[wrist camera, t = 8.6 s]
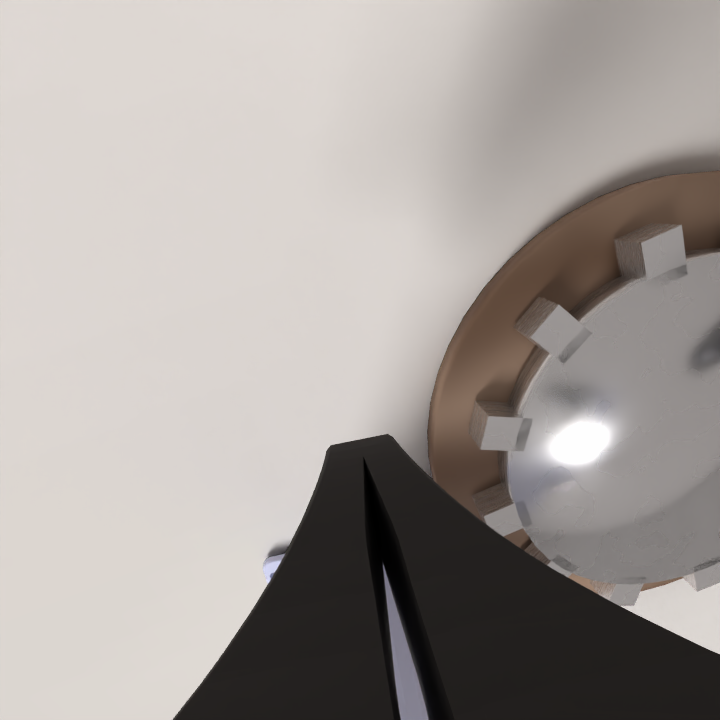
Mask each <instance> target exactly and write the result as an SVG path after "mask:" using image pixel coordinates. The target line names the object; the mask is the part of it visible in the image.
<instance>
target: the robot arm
mask: <svg viewBox="0 0 720 720" xmlns="http://www.w3.org/2000/svg"><path fill="white" fill-rule="evenodd" d="M263 571H264V574H265V577H266V580H267V583H268V585H267V587H266V588H265V590H264V592H263V593H262V595H261V597H260V598H259V600H258V602H257V603H256V605H255V606H254V608H253V610H252V611H251V613H250V614H249V616H248V617H247V619H246V620H245V622H244V623H243V625H242V626H241V628H240V629H239V630H238V632H237V633H236V635H235V636H234V638H233V639H232V641H231V642H230V644H229V645H228V647H227V648H226V650H225V651H224V653H223V654H222V655H221V657H220V658H219V660H218V661H217V662H216V664H215V665H214V667H213V668H212V669H211V671H210V672H209V673H208V675H207V676H206V678H205V679H204V680H203V682H202V683H201V684H200V686H199V687H198V688H197V689H196V691H195V692H194V693H193V694H192V696H191V697H190V698H189V700H188V701H187V702H186V703H185V705H184V706H183V707H182V708H181V710H180V711H179V712H178V714H177V715H176V716H175V717H174V719H173V720H720V654H717V653H715V652H713V651H710V650H708V649H706V648H704V647H702V646H700V645H698V644H695V643H693V642H691V641H689V640H687V639H685V638H683V637H681V636H679V635H677V634H675V633H673V632H671V631H669V630H667V629H665V628H663V627H660V626H658V625H656V624H654V623H652V622H650V621H648V620H646V619H644V618H642V617H640V616H638V615H636V614H634V613H632V612H630V611H628V610H626V609H624V608H622V607H620V606H619V605H617V604H615V603H613V602H611V601H609V600H608V599H606V598H604V597H602V596H600V595H599V594H597V593H595V592H593V591H591V590H590V589H588V588H586V587H584V586H582V585H581V584H579V583H577V582H575V581H574V580H572V579H570V578H568V577H566V576H565V575H563V574H561V573H559V572H557V571H556V570H554V569H552V568H551V567H549V566H548V565H546V564H544V563H543V562H541V561H540V560H538V559H536V558H535V557H533V556H532V555H530V554H528V553H527V552H525V551H524V550H522V549H521V548H520V547H518V546H517V545H515V544H514V543H512V542H511V541H509V540H508V539H506V538H505V537H503V536H502V535H500V534H499V533H498V532H496V531H495V530H494V529H492V528H491V527H489V526H488V525H487V524H485V523H484V522H483V521H481V520H480V519H479V518H477V517H476V516H475V515H474V514H472V513H471V512H470V511H469V510H467V509H466V508H465V507H464V506H462V505H461V504H460V503H459V502H458V501H456V500H455V499H454V498H453V497H452V496H451V495H449V494H448V493H447V492H446V491H445V490H444V489H443V488H441V487H440V486H439V485H438V484H437V483H436V482H435V481H434V480H433V479H432V478H431V477H429V476H428V475H427V474H426V473H425V472H424V471H423V470H422V469H421V468H420V467H419V466H418V465H417V464H416V463H415V462H414V461H413V460H412V459H411V458H410V457H409V455H408V454H407V453H406V452H405V451H404V450H403V449H402V448H401V447H400V445H399V444H398V443H397V442H396V440H395V439H394V438H393V437H392V436H390V435H389V434H385V435H380V436H375V437H370V438H365V439H360V440H355V441H350V442H345V443H340V444H335V445H331V446H330V447H329V448H328V450H327V451H326V456H325V460H324V464H323V467H322V470H321V473H320V476H319V479H318V482H317V485H316V487H315V490H314V492H313V495H312V497H311V500H310V502H309V504H308V507H307V509H306V512H305V514H304V516H303V518H302V521H301V523H300V525H299V527H298V529H297V531H296V533H295V535H294V537H293V539H292V541H291V543H290V545H289V547H288V549H287V551H286V553H285V554H282V555H277V556H272V557H269V558H267V559H266V560H265V561H264V565H263ZM273 572H275V573H274V574H273Z"/></svg>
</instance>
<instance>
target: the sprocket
mask: <svg viewBox="0 0 720 720" xmlns="http://www.w3.org/2000/svg"><path fill="white" fill-rule="evenodd" d="M614 244H615V249H616V254H617V260H618V265H619V271H620V276H618V277H616V278H614V279H612V280H611V281H609V282H608V283H606V284H605V285H603V286H602V287H600V288H599V289H597V290H596V291H594V292H593V293H591V294H590V295H588V296H587V297H586V298H585V299H584V300H582V301H581V302H580V303H579V304H578V305H576V306H575V307H574V308H573V309H572V310H570V311H569V312H567V311H566V310H565V309H564V308H562V307H561V306H560V305H559V304H556V303H554V302H551V301H549V300H546V299H544V298H541V297H538V298H537V299H536V301H535V302H534V303H533V304H532V305H531V307H530V308H529V309H528V310H527V311H526V312H525V314H524V315H523V316H522V317H521V318H520V320H519V321H518V322H517V323H516V324H515V325H514V328H515V329H516V330H517V331H519V332H520V333H521V334H522V335H524V336H525V337H526V338H527V339H529V340H530V341H531V342H532V343H534V344H535V345H536V346H537V348H536V350H535V351H534V352H533V354H532V355H531V357H530V358H529V360H528V362H527V363H526V365H525V367H524V368H523V370H522V371H521V373H520V375H519V377H518V379H517V381H516V383H515V386H514V388H513V390H512V392H511V394H510V396H509V399H508V402H491V401H475V404H474V408H473V412H472V417H471V421H470V425H469V430H468V433H469V434H470V435H471V437H472V438H473V440H474V441H475V443H476V444H477V445H478V447H479V448H480V450H498V468H499V478H500V482H501V483H500V484H497V485H495V486H493V487H490V488H488V489H486V490H483V491H481V492H479V493H476V494H474V495H472V497H473V500H474V502H475V505H476V507H477V510H478V512H479V515H480V517H481V519H482V521H483V522H484V523H485V524H487V525H488V526H489V527H491V528H492V529H494V530H495V531H496V532H498V533H499V534H500V535H502V536H506V535H508V534H510V533H513V532H515V531H517V530H520V529H522V528H523V529H524V530H525V532H526V533H527V535H528V536H529V538H530V539H531V540H532V543H531V544H530V545H529V546H528V547H527V548H526V549H525V550H524V551H525V552H527V553H528V554H530V555H532V556H533V557H535V558H536V559H538V560H540V561H541V562H543V563H544V564H546V565H548V566H549V567H551V568H552V569H554V570H556V571H557V572H559V573H561V574H563V575H565V576H566V577H569V576H570V575H571V574H572V573H573V574H575V575H577V576H581V577H584V578H587V579H590V584H591V585H592V586H593V588H594V589H595V590H596V592H597V593H598V594H599V595H600V596H602V597H604V598H606V599H608V600H609V601H611V602H613V603H615V604H617V605H619V606H631V605H634V604H635V602H636V600H637V597H638V595H639V593H640V591H641V589H642V586H643V584H645V583H654V582H660V581H666V580H671V579H674V578H678V577H683V578H684V579H685V580H686V581H687V582H688V583H689V584H690V585H691V586H692V587H693V588H694V589H695V590H696V591H697V592H698V591H700V590H702V589H705V588H707V587H710V586H712V585H715V584H717V583H720V248H708V249H698V250H688V251H685V247H684V239H683V231H682V225H674V224H654V223H651V224H648V225H646V226H644V227H642V228H639V229H637V230H635V231H633V232H630V233H628V234H626V235H624V236H621V237H619V238H617V239H615V240H614Z"/></svg>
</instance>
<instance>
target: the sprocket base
mask: <svg viewBox="0 0 720 720" xmlns="http://www.w3.org/2000/svg"><path fill="white" fill-rule="evenodd" d="M651 223H654V224H674V225H682V231H683V239H684V247H685V251H688V250H698V249H708V248H720V171H711V172H699V173H689V174H679V175H669V176H662V177H658V178H654V179H650V180H646V181H642V182H638V183H634V184H631V185H628V186H625V187H623V188H620V189H618V190H615V191H613V192H610V193H608V194H605V195H603V196H600V197H598V198H596V199H594V200H592V201H590V202H588V203H587V204H585V205H583V206H581V207H579V208H577V209H576V210H574V211H572V212H570V213H568V214H566V215H565V216H563V217H562V218H561V219H559V220H558V221H556V222H555V223H553V224H552V225H551V226H549V227H548V228H546V229H545V230H544V231H542V232H541V233H539V234H538V235H537V236H535V237H534V238H533V239H532V240H531V241H530V242H528V243H527V244H526V245H525V246H524V247H523V248H522V249H521V250H520V251H518V252H517V253H516V254H515V255H514V256H513V257H512V258H511V259H510V260H508V261H507V263H506V264H505V265H504V266H503V267H502V268H501V269H500V271H499V272H498V273H497V274H496V275H495V276H494V277H493V278H492V280H491V281H490V282H489V283H488V284H487V285H486V286H485V287H484V289H483V290H482V292H481V293H480V294H479V296H478V297H477V299H476V300H475V302H474V303H473V304H472V306H471V307H470V309H469V310H468V312H467V313H466V315H465V316H464V318H463V320H462V321H461V323H460V325H459V327H458V329H457V331H456V333H455V334H454V336H453V338H452V340H451V342H450V344H449V346H448V348H447V351H446V353H445V356H444V359H443V361H442V364H441V366H440V369H439V372H438V374H437V378H436V382H435V386H434V390H433V394H432V398H431V402H430V410H429V420H428V430H427V434H428V457H429V462H430V467H431V472H432V477H433V480H434V481H435V482H436V483H437V484H438V485H439V486H440V487H441V488H443V489H444V490H445V491H446V492H447V493H448V494H449V495H451V496H452V497H453V498H454V499H455V500H456V501H458V502H459V503H460V504H461V505H462V506H464V507H465V508H466V509H467V510H469V511H470V512H471V513H472V514H474V515H475V516H476V517H477V518H479V519H480V520H481V521H482V519H481V517H480V515H479V512H478V510H477V507H476V505H475V502H474V500H473V497H472V495H474V494H476V493H479V492H481V491H483V490H486V489H488V488H490V487H493V486H495V485H497V484H500V483H501V482H500V478H499V468H498V450H480V448H479V447H478V445H477V444H476V443H475V441H474V440H473V438H472V437H471V435H470V434H469V433H468V430H469V425H470V421H471V417H472V412H473V408H474V404H475V401H491V402H508V399H509V396H510V394H511V392H512V390H513V388H514V386H515V383H516V381H517V379H518V377H519V375H520V373H521V371H522V370H523V368H524V367H525V365H526V363H527V362H528V360H529V358H530V357H531V355H532V354H533V352H534V351H535V350H536V348H537V346H536V345H535V344H534V343H532V342H531V341H530V340H529V339H527V338H526V337H525V336H524V335H522V334H521V333H520V332H519V331H517V330H516V329H515V328H514V325H515V324H516V323H517V322H518V321H519V320H520V318H521V317H522V316H523V315H524V314H525V312H526V311H527V310H528V309H529V308H530V307H531V305H532V304H533V303H534V302H535V301H536V299H537V298H538V297H541V298H544V299H546V300H549V301H551V302H554V303H556V304H559V305H560V306H561V307H562V308H564V309H565V310H566V311H567V312H569V311H570V310H572V309H573V308H574V307H575V306H576V305H578V304H579V303H580V302H581V301H582V300H584V299H585V298H586V297H587V296H588V295H590V294H591V293H593V292H594V291H596V290H597V289H599V288H600V287H602V286H603V285H605V284H606V283H608V282H609V281H611V280H612V279H614V278H616V277H618V276H620V271H619V265H618V260H617V254H616V249H615V244H614V240H615V239H617V238H619V237H621V236H624V235H626V234H628V233H630V232H633V231H635V230H637V229H639V228H642V227H644V226H646V225H648V224H651ZM503 537H505V538H506V539H508V540H509V541H511V542H512V543H514V544H515V545H517V546H518V547H520V548H521V549H522V550H525V549H526V548H527V547H528V546H529V545H530V544H531V543H532V540H531V539H530V538H529V536H528V535H527V533H526V532H525V530H524V529H523V528H522V529H520V530H517V531H515V532H513V533H510V534H508V535H506V536H503ZM568 578H570V579H572V580H574V581H575V582H577V583H579V584H581V585H582V586H584V587H586V588H588V589H590V590H591V591H593V592H595V593H597V592H596V590H595V589H594V588H593V586H592V585H591V584H590V579H587V578H584V577H581V576H577V575H575V574H573V573H572V574H571V575H570V576H569V577H568ZM682 578H683V577H678V578H674V579H671V580H666V581H660V582H654V583H645V584H643V586H642V589H641V591H644V590H648V589H651V588H655V587H659V586H662V585H666V584H668V583H671V582H674V581H676V580H679V579H682ZM597 594H598V593H597Z"/></svg>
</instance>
